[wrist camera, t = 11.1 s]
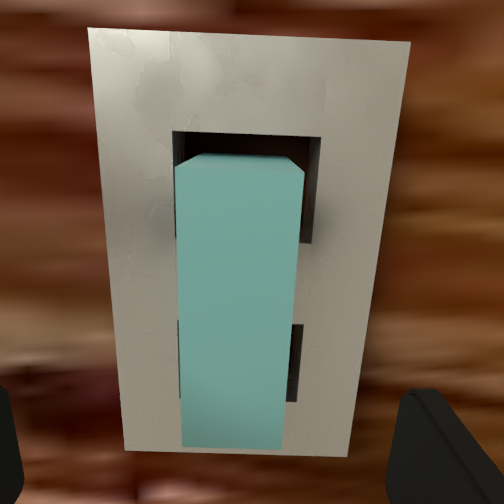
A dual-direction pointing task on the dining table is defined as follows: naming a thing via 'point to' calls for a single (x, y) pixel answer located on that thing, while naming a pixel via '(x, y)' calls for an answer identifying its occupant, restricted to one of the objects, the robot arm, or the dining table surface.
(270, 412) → the teal notched block
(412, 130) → the dining table surface
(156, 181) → the grey rectangular frame
